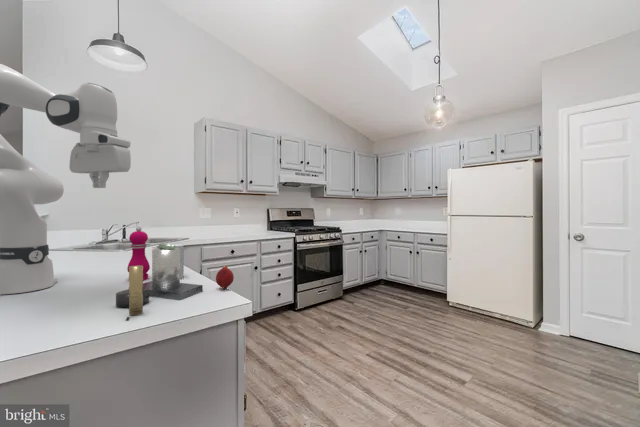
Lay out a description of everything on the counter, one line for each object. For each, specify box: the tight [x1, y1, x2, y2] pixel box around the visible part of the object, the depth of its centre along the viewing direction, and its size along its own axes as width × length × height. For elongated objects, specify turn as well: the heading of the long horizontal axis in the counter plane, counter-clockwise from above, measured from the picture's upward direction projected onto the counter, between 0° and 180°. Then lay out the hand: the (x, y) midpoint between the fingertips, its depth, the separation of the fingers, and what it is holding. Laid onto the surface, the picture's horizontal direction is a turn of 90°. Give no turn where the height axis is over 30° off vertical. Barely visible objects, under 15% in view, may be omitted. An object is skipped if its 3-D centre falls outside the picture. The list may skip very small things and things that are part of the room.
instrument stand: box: [125, 243, 204, 321], centre depth 87 cm, size 20×27×16 cm
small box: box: [156, 243, 185, 280], centre depth 114 cm, size 8×6×13 cm
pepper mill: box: [126, 226, 151, 282], centre depth 112 cm, size 7×7×20 cm
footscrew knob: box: [115, 265, 150, 316], centre depth 81 cm, size 8×16×12 cm, turn 36°
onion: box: [215, 264, 235, 289], centre depth 101 cm, size 6×6×8 cm
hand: (99, 187), depth 87 cm, fingers closed
